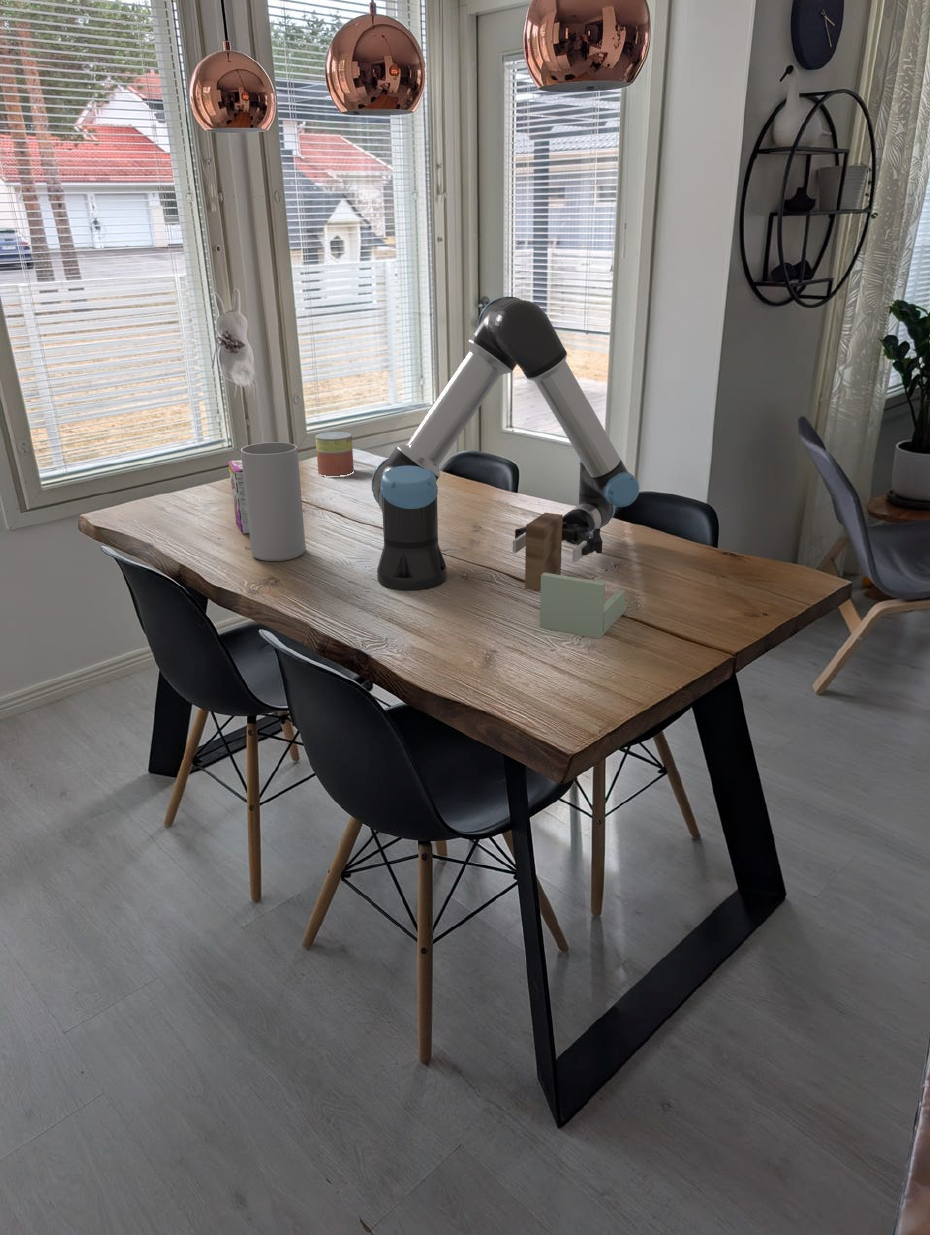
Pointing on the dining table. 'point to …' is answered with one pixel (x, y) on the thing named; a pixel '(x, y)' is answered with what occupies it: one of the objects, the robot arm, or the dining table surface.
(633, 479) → the robot arm
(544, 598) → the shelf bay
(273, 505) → the cylinder vase
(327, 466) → the canned food
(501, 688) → the dining table surface
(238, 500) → the candy bar box
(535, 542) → the walnut block
